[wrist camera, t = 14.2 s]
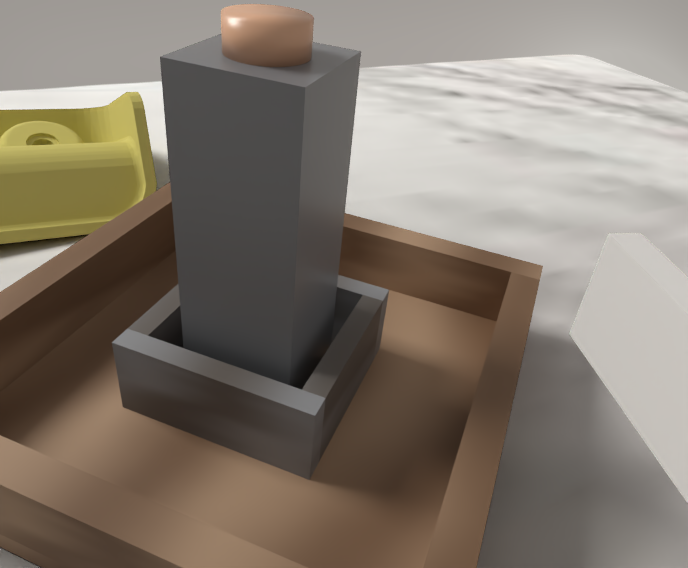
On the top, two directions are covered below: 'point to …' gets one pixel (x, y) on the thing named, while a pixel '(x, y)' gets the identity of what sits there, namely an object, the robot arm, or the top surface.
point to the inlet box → (256, 411)
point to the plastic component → (72, 168)
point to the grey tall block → (259, 187)
